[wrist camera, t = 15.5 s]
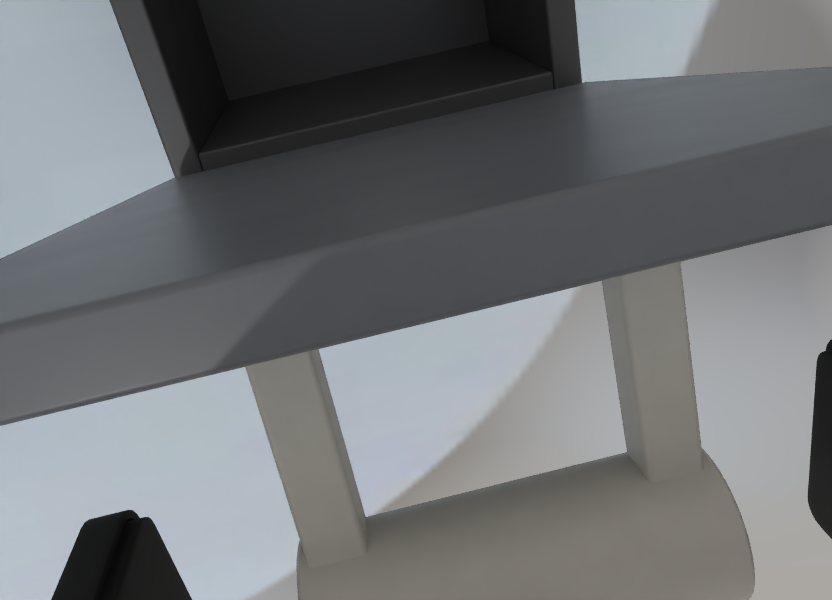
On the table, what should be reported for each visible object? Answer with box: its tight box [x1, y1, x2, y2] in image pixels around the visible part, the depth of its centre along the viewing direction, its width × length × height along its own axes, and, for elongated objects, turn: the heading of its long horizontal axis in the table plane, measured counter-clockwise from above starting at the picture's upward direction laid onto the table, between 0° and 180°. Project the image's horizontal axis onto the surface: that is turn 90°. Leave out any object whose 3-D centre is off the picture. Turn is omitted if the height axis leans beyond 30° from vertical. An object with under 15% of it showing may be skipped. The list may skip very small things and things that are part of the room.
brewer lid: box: [0, 67, 832, 600], centre depth 13 cm, size 14×12×6 cm
